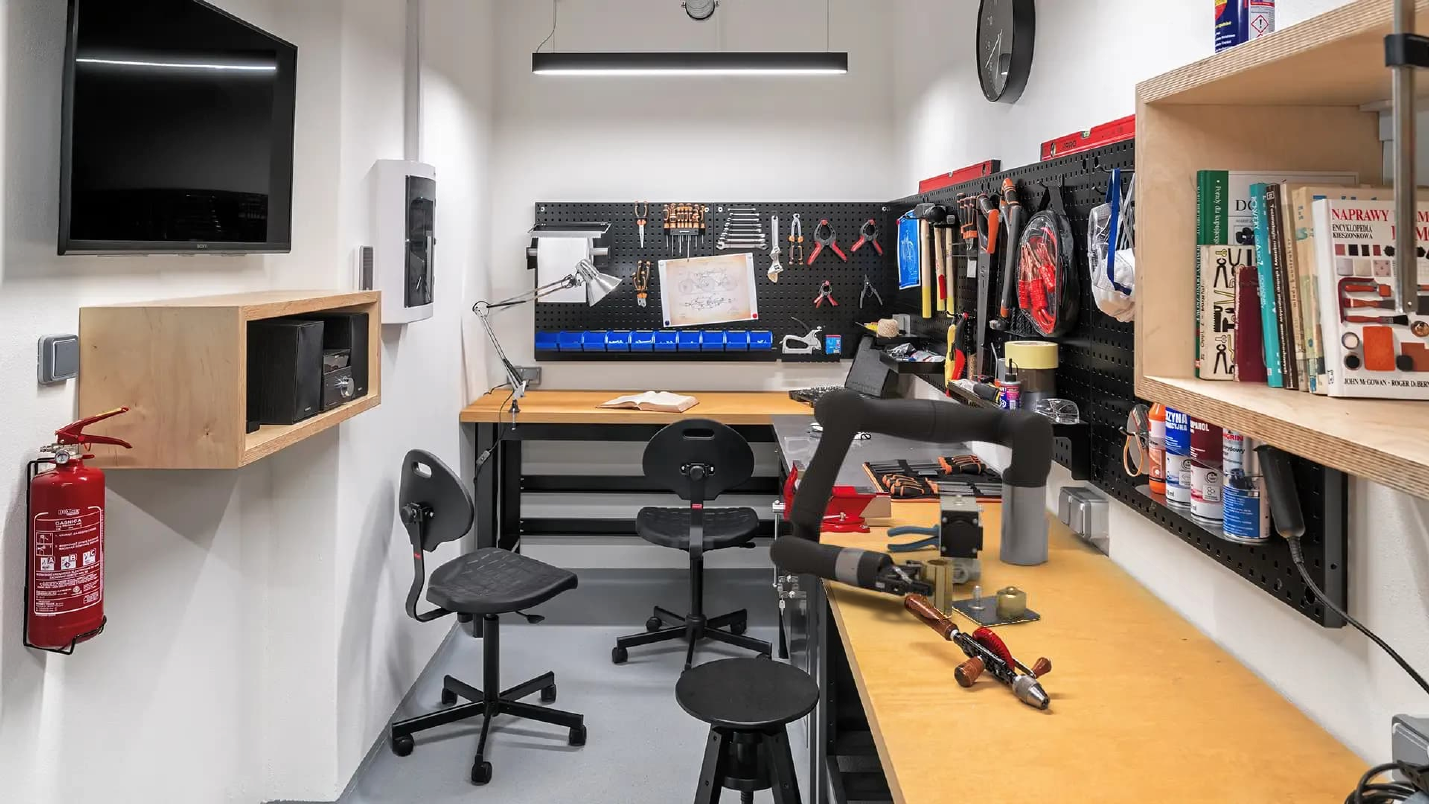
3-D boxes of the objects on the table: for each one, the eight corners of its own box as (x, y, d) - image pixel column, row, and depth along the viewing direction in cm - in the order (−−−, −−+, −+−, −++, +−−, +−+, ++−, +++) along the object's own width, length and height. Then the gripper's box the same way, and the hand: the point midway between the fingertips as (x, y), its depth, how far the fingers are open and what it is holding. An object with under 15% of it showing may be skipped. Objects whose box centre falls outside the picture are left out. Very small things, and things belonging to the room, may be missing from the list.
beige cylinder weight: (1014, 608, 176) (1015, 582, 175) (1031, 617, 171) (1032, 591, 170) (990, 611, 174) (991, 585, 173) (1007, 621, 169) (1008, 594, 168)
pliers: (967, 546, 219) (968, 521, 218) (971, 548, 217) (972, 523, 216) (885, 550, 216) (885, 525, 215) (888, 553, 214) (889, 528, 213)
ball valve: (984, 594, 185) (986, 506, 183) (939, 592, 187) (941, 504, 185) (978, 567, 203) (981, 486, 201) (938, 565, 205) (940, 485, 202)
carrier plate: (1001, 598, 183) (1002, 573, 182) (1040, 619, 172) (1041, 593, 171) (947, 605, 180) (948, 580, 179) (983, 627, 168) (984, 600, 168)
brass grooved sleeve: (928, 607, 179) (929, 556, 177) (957, 613, 175) (958, 561, 174) (915, 615, 174) (916, 563, 173) (944, 622, 171) (946, 569, 170)
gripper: (846, 559, 177) (926, 575, 167) (881, 541, 188) (958, 555, 179) (846, 597, 178) (925, 615, 168) (881, 578, 189) (957, 593, 180)
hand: (942, 584), depth 173 cm, fingers open, 8 cm apart
